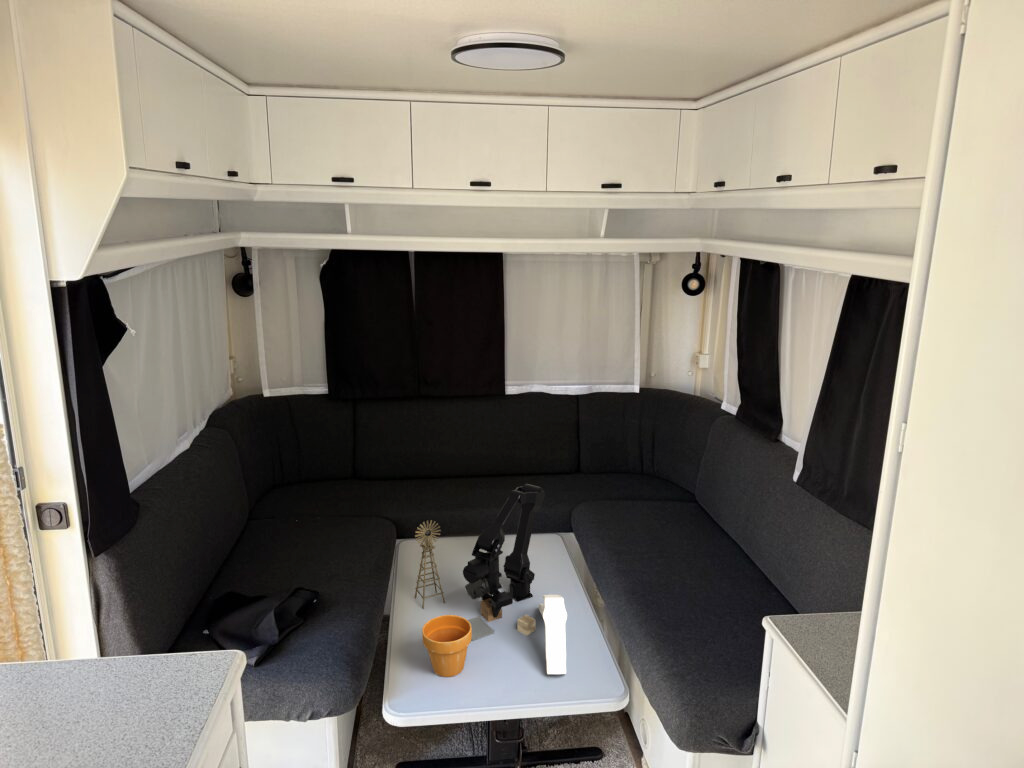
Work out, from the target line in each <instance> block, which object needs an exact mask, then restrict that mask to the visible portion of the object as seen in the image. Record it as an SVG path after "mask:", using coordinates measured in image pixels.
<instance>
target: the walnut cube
mask: <svg viewBox="0 0 1024 768" xmlns="http://www.w3.org/2000/svg"><path fill="white" fill-rule="evenodd" d="M490 600H491V598H489V599H486V600H481V601H480V616H481V618H482V617H483V618H484V619H485V621H486V622H488V623H490V622H493V621H496V620H499V619H502V615H503V613H502V609H501V610H500V612H499V614H498V616H497V617H495V618H494V617H493V612H492V605H491V604H490V603H488V601H490Z"/></svg>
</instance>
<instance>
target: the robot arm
mask: <svg viewBox="0 0 1024 768" xmlns="http://www.w3.org/2000/svg"><path fill="white" fill-rule="evenodd" d="M545 497H546V492H545V491H544V488H543V487H540V486H537V485H534V484H529V483H525V484H524V485H522V486H517V487H516V488H515V489H513V490H510V492H509V494H508V498H507V500H506V501H505V502H504V504H503V505H502V507H501V510H500V511H499V512H498V514H497V516H496V517H495V518H494V520H493V522H492V523H491V524H490V525H488V526H486V527H484V529H483V530H482V531H481V532H480V534H479V535H478V537H477V540H476V542H475V544H474V547H473V550H472V553H471V556H473V557H475V558H473V559H471V560H469V561H467V565H466V566H464V567H463V570H462V575H463V577H464V579H465V581H466V582H467V584H466V585H465V586H464V589H465V592H466V593H467V595H468V596H469V597H470V598H471V599H472V600H477V599H481V601H483V600H486V599H489V598H491V600H490V601H488V603H490V604H491V605H492V612H493V617H494V618H495V617H497V616H498V614H499V612H500V610H501V611H502V608H504V607H507V606H510V605H513V603H514V601H516V602H521V601H523V600H526V599H529V598H532V597H533V596H534V594H532V592H531V584H533V581H534V580H535V576H536V575H535V574H536V573H534V571H532V570H531V568H530V567H531V561H530V559H529V555H528V553H529V552H528V551H529V547H530V541H531V537H532V532H533V527H534V522H535V518H536V517H535V516H536V513H537V512H538V511H539V509H540V508H542V506H543V502H544V500H545ZM520 509H521V511H520V515H519V520H518V526H517V531H516V537H515V540H514V544H513V549H512V551H511V553H509V555H506V556H505V560H504V564H503V566H502V567H503V572H504V574H505V577H506V579H509V580H510V581H509V584H508V588H509V589H508V592H507V591H505V590H504V591H500V590H499V589H503V585H502V584H501V583H500V578H501V577H502V576H503V575H502V572H500V555H502V554H503V553H504V551H503V550H502V548H503V545H504V543H505V540H506V539H505V538H506V537H505V534H506V532H507V530H508V528H509V527H510V524H511V523H512V522H513V520H514V519H515V517H516V515H517V513H518V512H519V510H520ZM480 550H482V551H480ZM483 551H484V552H483ZM513 600H514V601H513Z"/></svg>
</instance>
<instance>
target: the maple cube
mask: <svg viewBox="0 0 1024 768" xmlns="http://www.w3.org/2000/svg"><path fill="white" fill-rule="evenodd" d="M535 631H536V619H535V618H533V617H532V616H530V615H528V614H524V615H523V616H521V617H519V618H518V619H517V632H519V633H521V634H522V635H525V636H526V637H527V636H529V635H530V634H532V633H534V632H535Z"/></svg>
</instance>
